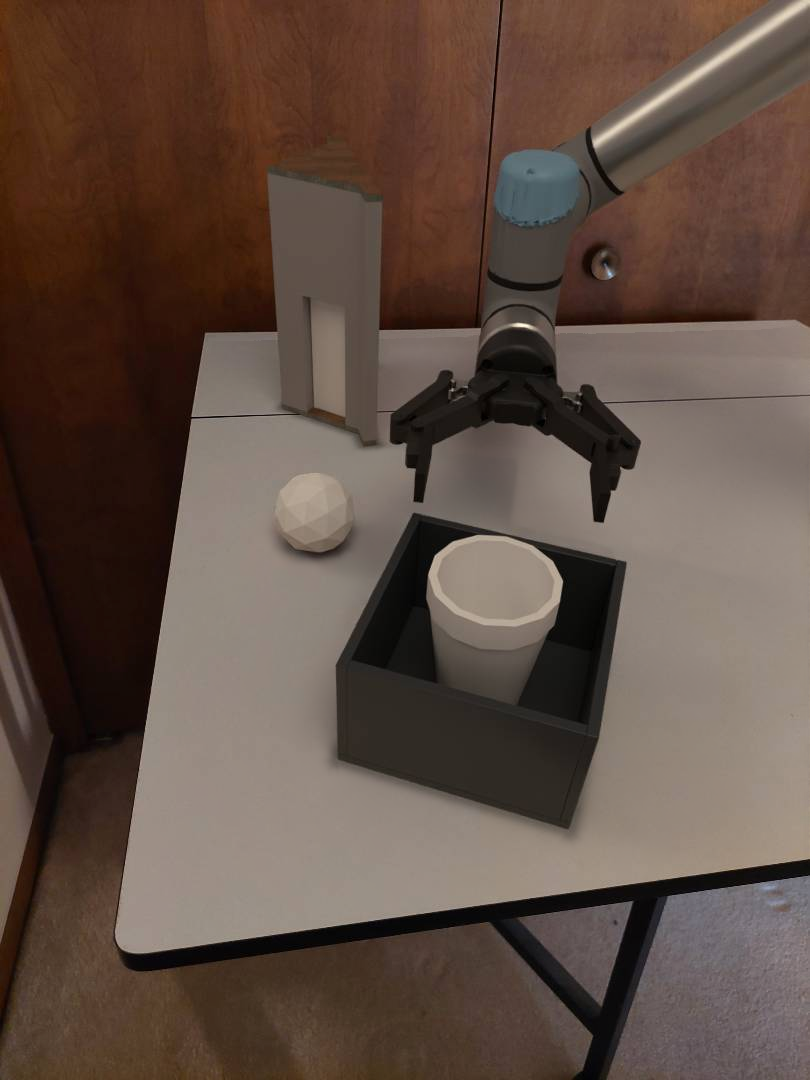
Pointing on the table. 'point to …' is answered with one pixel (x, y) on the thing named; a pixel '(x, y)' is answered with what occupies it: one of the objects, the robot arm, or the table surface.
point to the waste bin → (468, 719)
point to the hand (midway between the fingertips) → (509, 498)
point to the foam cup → (490, 613)
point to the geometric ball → (314, 512)
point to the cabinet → (327, 285)
